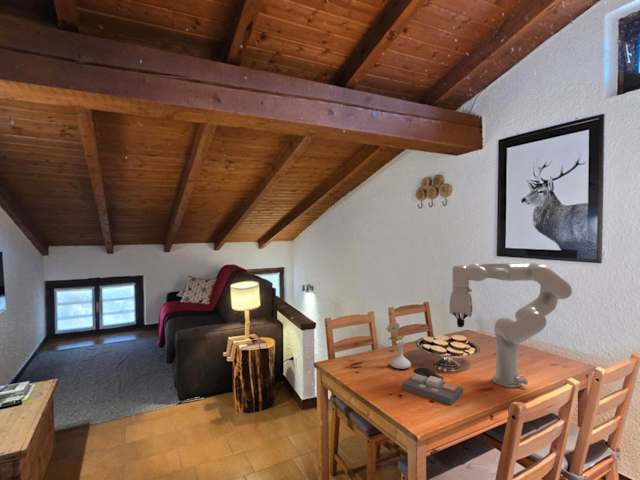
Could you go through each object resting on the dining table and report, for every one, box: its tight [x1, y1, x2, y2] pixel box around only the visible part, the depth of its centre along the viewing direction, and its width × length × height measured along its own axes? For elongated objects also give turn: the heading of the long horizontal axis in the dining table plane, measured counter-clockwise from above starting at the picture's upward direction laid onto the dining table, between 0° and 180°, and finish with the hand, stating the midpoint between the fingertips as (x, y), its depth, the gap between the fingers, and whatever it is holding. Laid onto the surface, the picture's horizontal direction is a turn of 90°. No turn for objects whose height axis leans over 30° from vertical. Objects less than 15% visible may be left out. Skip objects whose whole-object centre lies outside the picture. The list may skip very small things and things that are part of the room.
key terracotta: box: [442, 382, 459, 393], centre depth 158 cm, size 5×5×3 cm
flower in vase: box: [386, 321, 412, 370], centre depth 191 cm, size 13×11×25 cm
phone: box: [413, 367, 444, 381], centre depth 180 cm, size 8×1×15 cm
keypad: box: [402, 373, 464, 406], centre depth 161 cm, size 23×14×3 cm, turn 48°
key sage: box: [411, 373, 427, 383], centre depth 168 cm, size 5×5×3 cm
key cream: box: [426, 376, 443, 388], centre depth 163 cm, size 5×5×3 cm
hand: (460, 326), depth 173 cm, fingers closed
